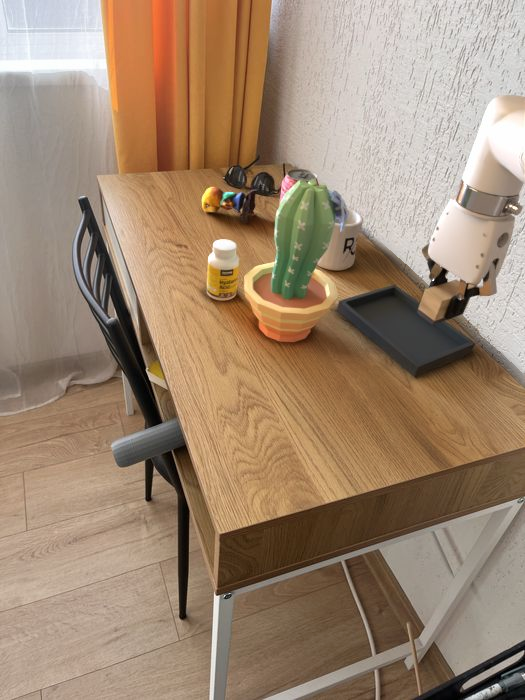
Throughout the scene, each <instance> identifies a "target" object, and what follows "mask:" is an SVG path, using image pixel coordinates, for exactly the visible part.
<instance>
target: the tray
mask: <svg viewBox="0 0 525 700" xmlns="http://www.w3.org/2000/svg"><path fill="white" fill-rule="evenodd" d="M420 302H421V301H419V300H418V299H416V298H414V297H413V296H412V295H410V294H409V293H407V292H406V291H405V290H404V289H403V288H401V287H399V286H398V285H397V284H395V283H394V284H391V285H387V286H384V287H381V288H378V289H374V290H371V291H367V292H363V293H361V294H357V295H354V296H350V297H347V298H343V299H340V300H338V303H337V308H336V311H337V312H338V313H339V315H341V316H343V318H344V319H346V320H347V321H348V322H350V323H351V324H352V325H353V326H354V327H355V328H356V329H358V330H359V331H360V332H361V333H362V334H364V335H365V336H366V337H367V338H368V339H369V340H370V341H372V342H373V343H374V344H375V345H377V346H378V348H380V349H381V350H382V351H383V352H385V353H386V354H387V355H388V356H389V357H391V359H393V360H394V361H395V362H396V363H398V364H399V365H400V366H401V367H402V368H403V369H404V370H405V371H407V372H408V373H409V374H410V375H411V376H412V377H414V378H415V377H417V376H420V375H423V374H425V373H427V372H430V371H432V370H434V369H437V368H439V367H442V366H444V365H447V364H448V363H451V362H453V361H456V360H458V359H460V358H463V357H465V356H467V355H468V356H469V354H472V353H473V350H474V348H475V347H476V341H474V340H472V339H471V338H470V337H469V336H467V335H466V334H465V333H463V332H461V331H460V330H459V329H457V328H456V327H454V326H453V325H451V324H450V323H449V322H447V320H446V321H443V322H440V323H438V324H435V325H432V324H431V323H429V322H428V321H427V320H425V319H424V318H423V317H421V316H420V315H419V314H418V313H417V311H418V308H419V305H420Z"/></svg>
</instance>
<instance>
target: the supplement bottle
mask: <svg viewBox="0 0 525 700" xmlns="http://www.w3.org/2000/svg"><path fill="white" fill-rule="evenodd" d="M239 270H240V258H239V256H238V255H237V244H236V242H234V241H233V240H230V239H225V238H223V239H222V238H221V239H217V240H215V241H214V242H213V243H212V252H211V253H210V254H209V255H208V257H207V273H206V274H207V275H206V294H207V295H208V297H210V298H211V299H214V300H216V301H221V302H223V301H224V302H225V301H229V300H232V299H233V298H235V297H236V295H237V293H238V292H237V290H238V279H239Z"/></svg>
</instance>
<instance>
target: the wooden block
mask: <svg viewBox="0 0 525 700" xmlns="http://www.w3.org/2000/svg"><path fill="white" fill-rule="evenodd" d="M459 283H460V280H458V279H453V280H450V281H449V280H448V282H446V283H443V284H440V285H437V286H434V287H430V288H429V287H427V288H425V289H424V292H423V294H422V297H421V300H420V301H419V302H420V305H419V308H418V311H417V313H418V314H419V315H420V316H421V317H423V318H424V319H425V320H427V321H428V322H429V323H431V324H432V325H435V324H438V323H440V322H443V321H446V322H447V321H448V320H447V319H446V318H445V314H446V311H447V309H448V306H449V303H450V301H451V298H452V297H453V296H455V295H457V291H458V287H459ZM470 299H471V297H470V298H469V300H468V302H467V305H466V307H465V309H464V312H463V313H462V314H461V315H460V316H462V315H464V313H465V311H466V309H467V306H468V304H469V301H470Z"/></svg>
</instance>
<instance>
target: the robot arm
mask: <svg viewBox="0 0 525 700" xmlns="http://www.w3.org/2000/svg"><path fill="white" fill-rule="evenodd" d="M524 184H525V96H523V95H516V94H503V95H498V96H496V97H494V98H492V100H491V101H490V102H489V103H488V105H487V107H486V109H485V112H484V114H483V117H482V120H481V123H480V126H479V129H478V132H477V134H476V138H475V140H474V142H473V145H472V147H471V151H470V154H469V157H468V159H467V162H466V165H465V167H464V171H463V174H462V176H461V180H460V182H459V185H458V188H457V191H456V194H455V195H453V196H452V197H451V198H450V199H449V201H448V203H447V204H446V206H445V208H444V209H443V211H442V213H441V214H440V217H439V219H438V222H437V224H436V225H435V228H434V230H433V233H432V235H431V239H430V241H429V242H428V243H427V244H426V245H424V247H423V248H421V254H422V255H423V257H424V259H425V260H426V262H427V267H428V270H429V274H428V279H429V280H430V282H429V285H428V288H430V287H434V286H437V285H440V284H443V283H446V282H449V279H448V278H447V276H448V274H449V273H450V274H453V275H454V276H456V277H457V278H458V279H459V282H460V283H459V287H458V291H457V295H455V296H453V297H452V298H451V301H450V303H449V306H448V309H447V311H446V314H445V318H446V319H447V320H446V321H448V320H451V319H454V318H457V317H459V316H460V317H461V316H462V315H463V314H464V313H465V311H464V309H465V307H466V305H467V306H468V304H467V302H468V300H469V298H470V299H471V298H473V297H476V296H478V297H490V296H493V295H496V294H497V293H498V288H497V286H498V285H497V278H498V276H499V274H500V272H501V269H502V268H503V264H504V262H505V259H506V257H507V254H508V250H509V247H510V245H511V241H512V236H513V232H514V227H515V222H516V216H518V215H520V214H521V212H522V211H523V205H522V204H519V202H518V200H519V198H520V193H521V191H522V189H523V187H524ZM481 281H482V285H479V284H480V283H481ZM469 301H470V300H469ZM468 303H469V302H468ZM466 308H467V307H466ZM465 310H466V309H465ZM463 312H464V313H463ZM462 313H463V314H462ZM461 314H462V315H461Z"/></svg>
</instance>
